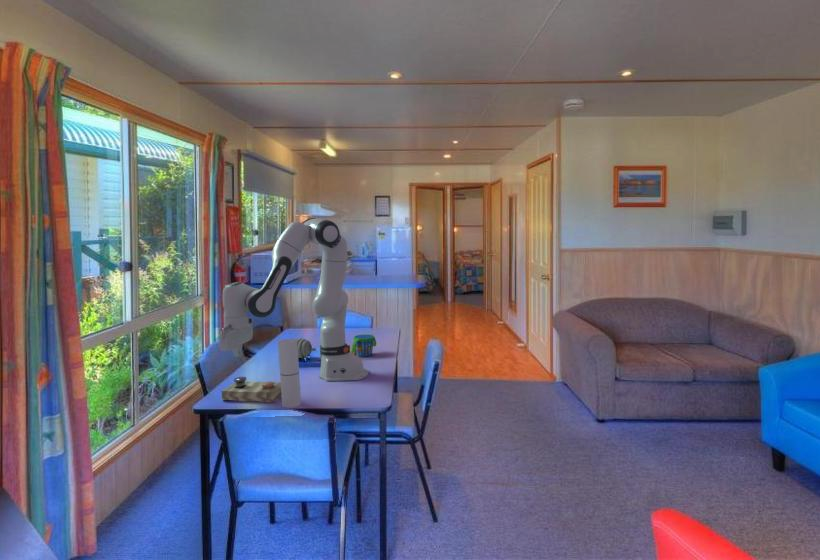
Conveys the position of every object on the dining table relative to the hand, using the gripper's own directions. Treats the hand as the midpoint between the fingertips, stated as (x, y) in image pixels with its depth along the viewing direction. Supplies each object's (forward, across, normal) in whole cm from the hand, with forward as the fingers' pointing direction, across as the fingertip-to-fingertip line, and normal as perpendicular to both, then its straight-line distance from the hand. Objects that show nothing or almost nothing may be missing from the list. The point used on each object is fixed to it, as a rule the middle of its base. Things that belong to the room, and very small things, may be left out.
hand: (237, 356), depth 206 cm
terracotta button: (+15, 0, -12) cm, 20 cm away
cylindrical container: (+17, -7, -26) cm, 31 cm away
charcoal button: (+14, 0, 0) cm, 14 cm away
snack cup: (+16, +63, -36) cm, 74 cm away
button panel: (+17, 0, -6) cm, 18 cm away
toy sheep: (+17, +53, -4) cm, 56 cm away
